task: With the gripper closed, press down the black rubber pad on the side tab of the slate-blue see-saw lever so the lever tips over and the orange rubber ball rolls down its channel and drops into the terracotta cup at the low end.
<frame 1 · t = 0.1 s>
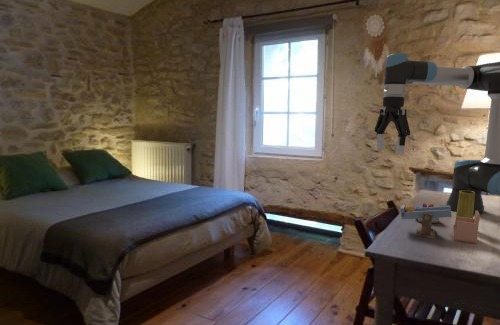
hand: (389, 152, 143), 28 cm above the table, fingers open, 13 cm apart
lever: (425, 208, 137), point 8 cm above the table, hinge at 12.0°, touching ball
ball: (410, 209, 136), point 8 cm above the table, tilted 14°, touching lever
fulcrum: (425, 233, 134), on the table
cup: (464, 239, 129), on the table
vase: (463, 228, 142), on the table
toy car: (425, 221, 151), on the table
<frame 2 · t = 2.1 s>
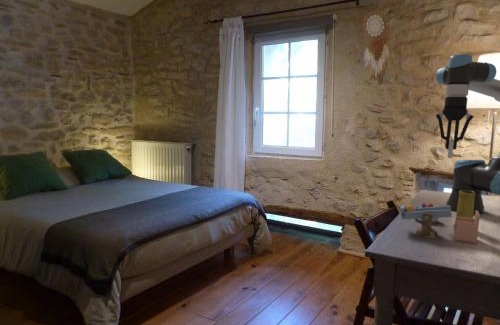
hand: (449, 157, 145), 26 cm above the table, fingers closed
nothing on the table moved.
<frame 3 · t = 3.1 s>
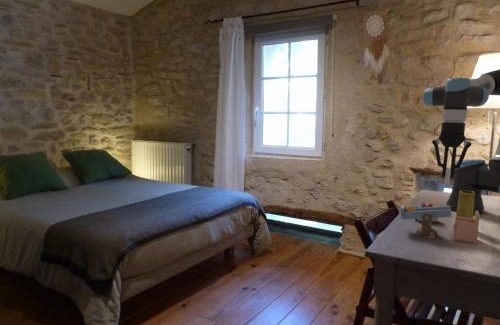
hand: (446, 186, 137), 17 cm above the table, fingers closed
nothing on the table moved.
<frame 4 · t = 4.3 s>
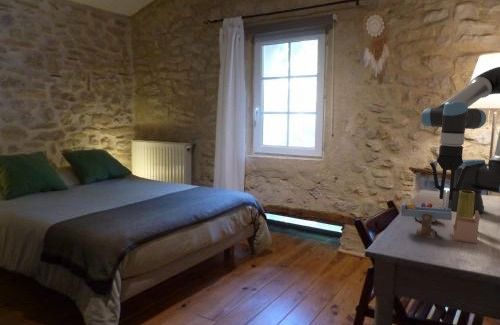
hand: (444, 208, 138), 8 cm above the table, fingers closed, pressing on lever
lever: (426, 208, 137), point 8 cm above the table, hinge at 3.3°, touching ball, gripper
ball: (410, 207, 136), point 9 cm above the table, touching lever
everything else where it was.
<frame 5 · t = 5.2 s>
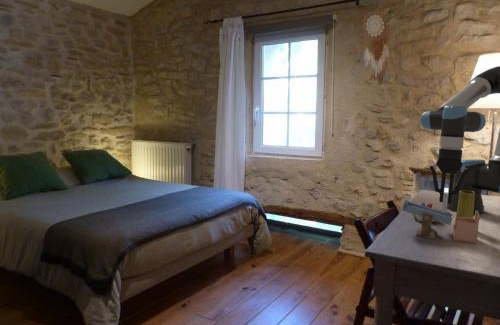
hand: (444, 211, 138), 7 cm above the table, fingers closed
lever: (427, 208, 136), point 9 cm above the table, hinge at -10.3°, touching gripper
ball: (463, 225, 129), point 5 cm above the table, tilted 143°
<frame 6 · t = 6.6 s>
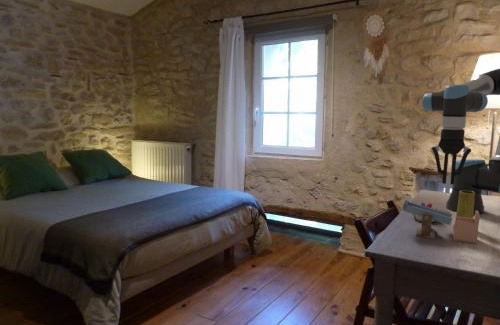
hand: (447, 192, 137), 14 cm above the table, fingers closed
lever: (427, 208, 136), point 9 cm above the table, hinge at -10.5°
ball: (461, 232, 129), point 2 cm above the table, tilted 102°, touching cup
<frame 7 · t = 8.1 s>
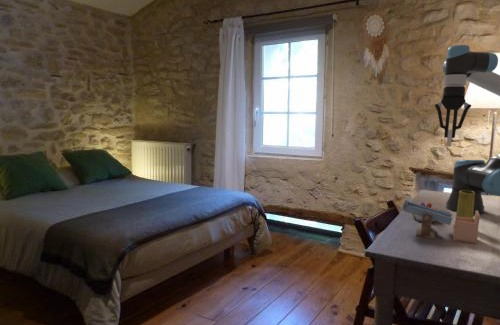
hand: (448, 146, 149), 30 cm above the table, fingers closed
ball: (463, 232, 129), point 2 cm above the table, tilted 83°, touching cup
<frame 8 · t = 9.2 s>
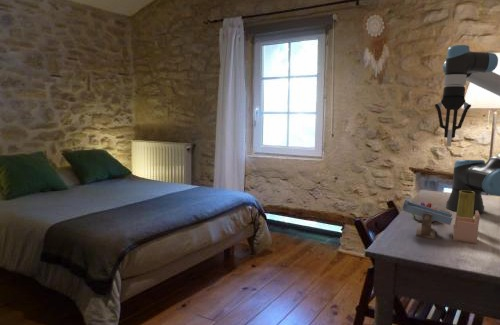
hand: (448, 145, 149), 30 cm above the table, fingers closed
ball: (464, 232, 129), point 2 cm above the table, tilted 69°, touching cup
at the end: ball 0.1 cm from the cup (horizontally); ball point 2.3 cm above the table; ball touching cup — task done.
